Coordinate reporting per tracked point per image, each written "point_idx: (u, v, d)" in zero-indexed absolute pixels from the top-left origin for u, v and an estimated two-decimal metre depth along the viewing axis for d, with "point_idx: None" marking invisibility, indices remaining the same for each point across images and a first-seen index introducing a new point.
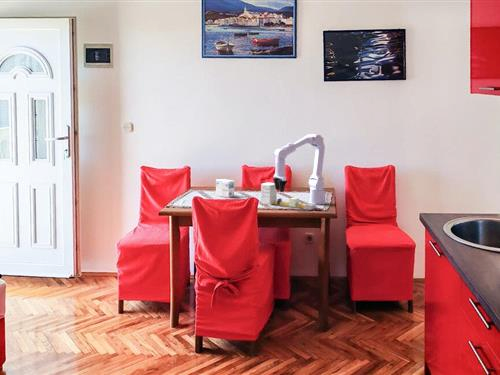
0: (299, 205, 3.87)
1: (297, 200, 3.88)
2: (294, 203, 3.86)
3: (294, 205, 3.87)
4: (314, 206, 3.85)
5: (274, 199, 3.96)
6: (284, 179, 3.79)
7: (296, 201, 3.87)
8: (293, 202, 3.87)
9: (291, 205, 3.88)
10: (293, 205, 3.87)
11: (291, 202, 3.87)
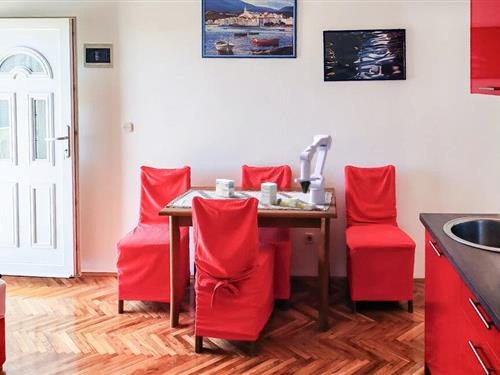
0: (299, 205, 3.87)
1: (297, 200, 3.88)
2: (294, 203, 3.86)
3: (294, 205, 3.87)
4: (314, 206, 3.85)
5: (274, 199, 3.96)
6: (295, 181, 3.80)
7: (296, 201, 3.87)
8: (293, 202, 3.87)
9: (291, 205, 3.88)
10: (293, 205, 3.87)
11: (291, 202, 3.87)
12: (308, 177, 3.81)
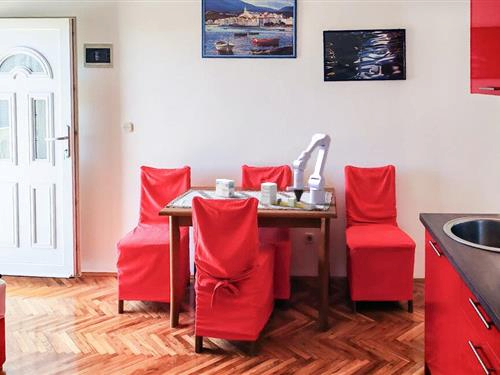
0: (299, 205, 3.87)
1: (295, 200, 3.89)
2: (292, 203, 3.87)
3: (292, 205, 3.87)
4: (314, 206, 3.85)
5: (274, 199, 3.96)
6: (287, 189, 3.84)
7: (295, 201, 3.88)
8: (291, 202, 3.87)
9: (289, 205, 3.88)
10: (291, 204, 3.87)
11: (289, 202, 3.88)
12: (300, 186, 3.83)
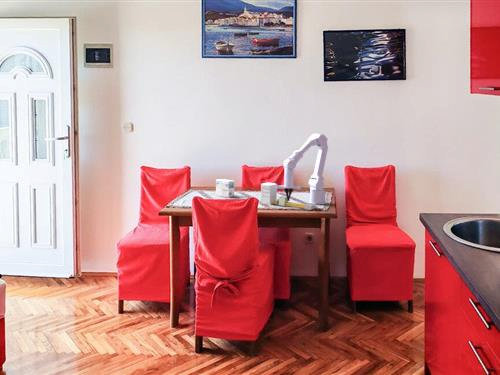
0: (299, 205, 3.87)
1: (286, 199, 3.92)
2: (283, 202, 3.90)
3: (283, 204, 3.90)
4: (314, 206, 3.85)
5: (274, 199, 3.96)
6: (277, 187, 3.90)
7: (285, 199, 3.91)
8: (282, 201, 3.90)
9: (280, 204, 3.91)
10: (282, 203, 3.90)
11: (280, 201, 3.91)
12: (289, 185, 3.86)
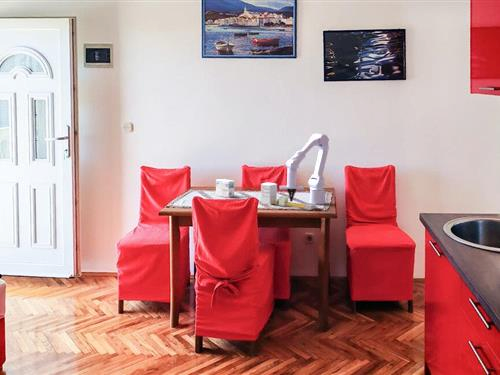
0: (299, 205, 3.87)
1: (286, 199, 3.92)
2: (283, 202, 3.90)
3: (283, 204, 3.90)
4: (314, 206, 3.85)
5: (274, 199, 3.96)
6: None
7: (285, 199, 3.91)
8: (282, 201, 3.90)
9: (280, 204, 3.91)
10: (282, 203, 3.90)
11: (280, 201, 3.91)
12: (292, 185, 3.86)
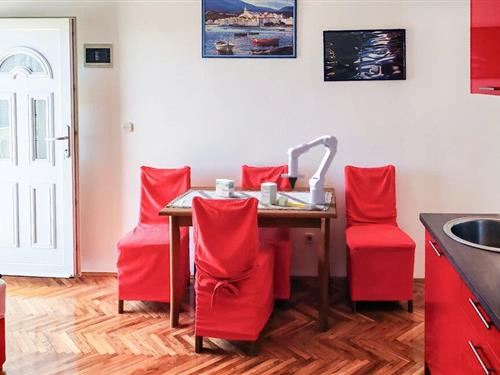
0: (299, 205, 3.87)
1: (286, 199, 3.92)
2: (283, 202, 3.90)
3: (283, 204, 3.90)
4: (314, 206, 3.85)
5: (274, 199, 3.96)
6: (281, 175, 3.93)
7: (285, 199, 3.91)
8: (282, 201, 3.90)
9: (280, 204, 3.91)
10: (282, 203, 3.90)
11: (280, 201, 3.91)
12: (293, 173, 3.88)
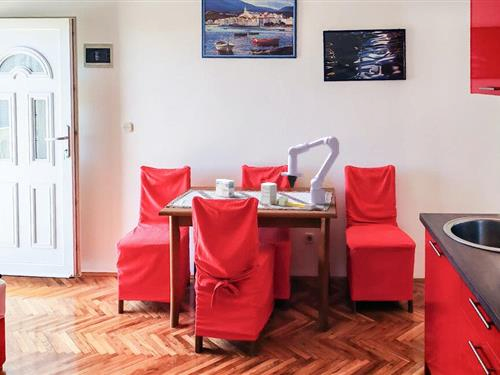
0: (299, 205, 3.87)
1: (286, 199, 3.92)
2: (283, 202, 3.90)
3: (283, 204, 3.90)
4: (314, 206, 3.85)
5: (274, 199, 3.96)
6: None
7: (285, 199, 3.91)
8: (282, 201, 3.90)
9: (280, 204, 3.91)
10: (282, 203, 3.90)
11: (280, 201, 3.91)
12: (291, 172, 3.94)
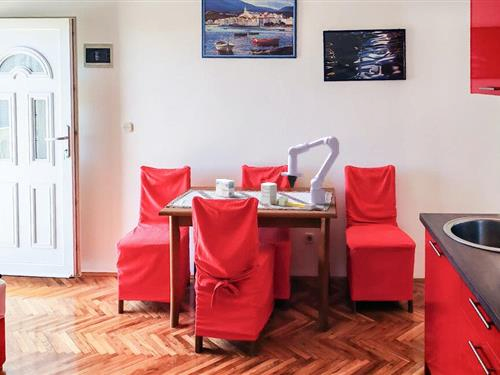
0: (299, 205, 3.87)
1: (286, 199, 3.92)
2: (283, 202, 3.90)
3: (283, 204, 3.90)
4: (314, 206, 3.85)
5: (274, 199, 3.96)
6: None
7: (285, 199, 3.91)
8: (282, 201, 3.90)
9: (280, 204, 3.91)
10: (282, 203, 3.90)
11: (280, 201, 3.91)
12: (291, 172, 3.94)
